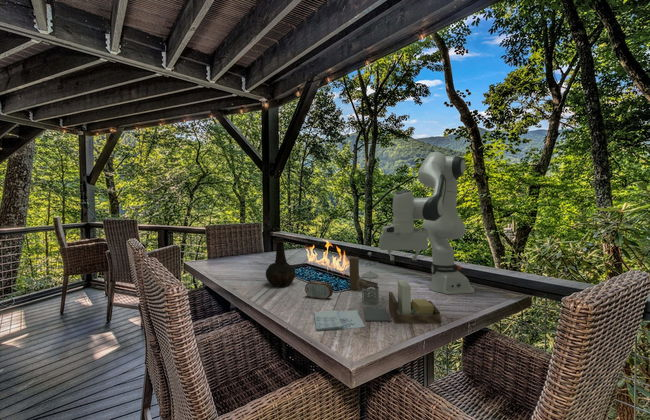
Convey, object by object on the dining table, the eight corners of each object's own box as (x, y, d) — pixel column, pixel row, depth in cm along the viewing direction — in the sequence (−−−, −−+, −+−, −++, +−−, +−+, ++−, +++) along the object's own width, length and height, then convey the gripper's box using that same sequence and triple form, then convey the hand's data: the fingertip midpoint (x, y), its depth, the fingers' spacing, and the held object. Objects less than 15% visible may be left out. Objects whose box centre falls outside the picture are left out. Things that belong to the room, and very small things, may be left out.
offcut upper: (425, 305, 140) (425, 298, 140) (433, 312, 131) (433, 305, 131) (412, 306, 140) (411, 299, 140) (419, 313, 131) (419, 306, 131)
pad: (385, 309, 144) (385, 308, 144) (390, 321, 130) (390, 320, 130) (363, 309, 144) (363, 308, 144) (365, 321, 130) (365, 320, 130)
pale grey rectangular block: (405, 310, 142) (405, 279, 141) (411, 320, 131) (410, 286, 130) (398, 310, 142) (397, 279, 141) (402, 320, 131) (402, 286, 130)
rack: (429, 308, 144) (429, 291, 143) (441, 323, 127) (440, 303, 126) (388, 308, 145) (388, 291, 145) (394, 323, 128) (394, 303, 128)
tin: (333, 298, 161) (332, 282, 161) (330, 300, 158) (330, 283, 158) (307, 295, 167) (306, 279, 167) (304, 297, 164) (303, 281, 164)
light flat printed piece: (313, 314, 141) (313, 310, 141) (358, 312, 142) (358, 307, 142) (315, 332, 122) (315, 327, 122) (367, 330, 123) (367, 324, 123)
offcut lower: (426, 312, 140) (426, 305, 140) (432, 320, 131) (432, 313, 131) (412, 312, 140) (412, 305, 140) (418, 320, 131) (418, 313, 131)
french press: (376, 308, 145) (375, 254, 144) (353, 304, 151) (352, 252, 150) (384, 302, 153) (383, 251, 152) (362, 299, 159) (361, 249, 158)
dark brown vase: (280, 279, 203) (279, 235, 202) (301, 282, 192) (300, 237, 191) (259, 285, 188) (258, 238, 187) (281, 290, 178) (280, 240, 177)
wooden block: (367, 289, 176) (366, 256, 176) (366, 291, 172) (365, 258, 171) (351, 288, 179) (350, 256, 178) (349, 290, 174) (349, 258, 174)
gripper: (426, 227, 137) (426, 258, 138) (378, 227, 138) (378, 258, 139) (430, 228, 131) (430, 261, 131) (380, 228, 132) (380, 261, 133)
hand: (403, 260), depth 135 cm, fingers open, 8 cm apart
